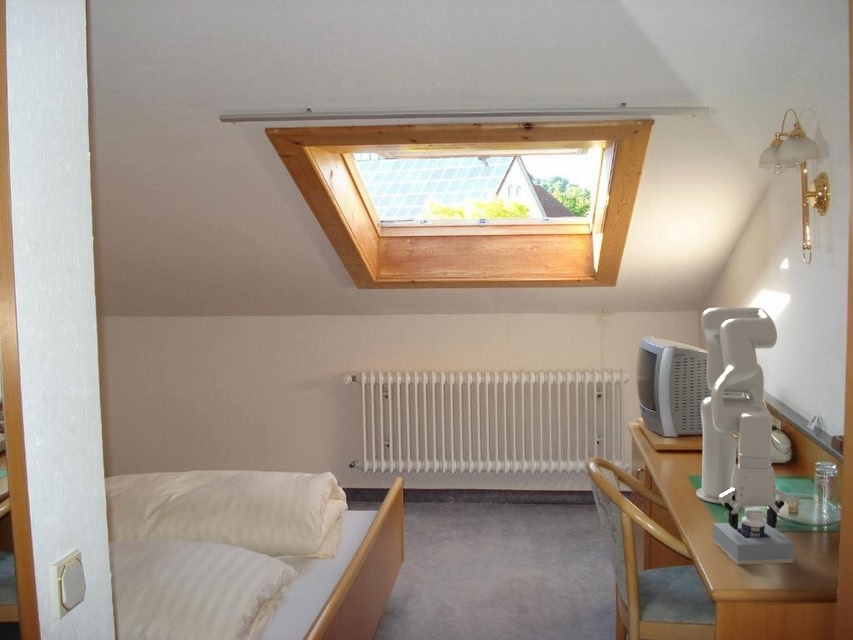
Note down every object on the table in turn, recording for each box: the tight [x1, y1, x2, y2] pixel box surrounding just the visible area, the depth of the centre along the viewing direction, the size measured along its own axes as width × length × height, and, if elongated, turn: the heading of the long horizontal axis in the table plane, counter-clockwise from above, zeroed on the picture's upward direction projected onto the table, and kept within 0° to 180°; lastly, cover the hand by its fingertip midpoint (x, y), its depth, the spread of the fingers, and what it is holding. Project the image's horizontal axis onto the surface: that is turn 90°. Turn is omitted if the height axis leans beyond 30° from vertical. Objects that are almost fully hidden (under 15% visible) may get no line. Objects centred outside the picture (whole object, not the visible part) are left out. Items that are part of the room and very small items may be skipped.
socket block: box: [712, 521, 795, 566], centre depth 189 cm, size 14×14×5 cm
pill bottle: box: [740, 507, 766, 538], centre depth 189 cm, size 5×5×10 cm
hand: (752, 526), depth 189 cm, fingers open, 9 cm apart
